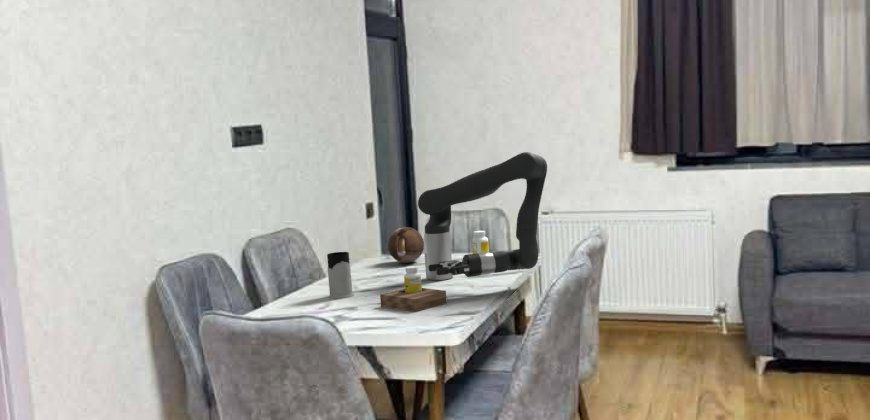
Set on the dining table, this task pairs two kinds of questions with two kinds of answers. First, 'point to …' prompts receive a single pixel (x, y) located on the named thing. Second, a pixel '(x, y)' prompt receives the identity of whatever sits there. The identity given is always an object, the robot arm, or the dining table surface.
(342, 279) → the glass holder
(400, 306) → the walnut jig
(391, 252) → the wooden sphere
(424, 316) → the dining table surface
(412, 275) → the supplement bottle
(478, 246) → the supplement bottle
